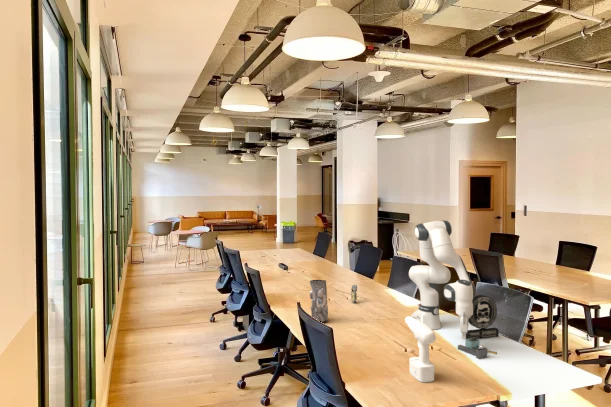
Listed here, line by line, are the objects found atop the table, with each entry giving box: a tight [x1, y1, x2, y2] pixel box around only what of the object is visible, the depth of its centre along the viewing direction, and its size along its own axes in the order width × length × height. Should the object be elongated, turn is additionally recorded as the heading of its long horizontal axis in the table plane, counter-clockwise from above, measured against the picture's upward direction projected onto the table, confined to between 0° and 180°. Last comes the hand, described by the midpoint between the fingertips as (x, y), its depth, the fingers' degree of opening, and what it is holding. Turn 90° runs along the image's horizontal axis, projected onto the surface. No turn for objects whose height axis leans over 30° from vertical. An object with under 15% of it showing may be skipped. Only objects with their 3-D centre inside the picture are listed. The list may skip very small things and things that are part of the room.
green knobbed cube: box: [465, 338, 480, 349], centre depth 248 cm, size 5×5×5 cm
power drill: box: [404, 316, 437, 383], centre depth 212 cm, size 8×24×25 cm, turn 13°
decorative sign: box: [465, 294, 500, 340], centre depth 265 cm, size 22×3×25 cm, turn 105°
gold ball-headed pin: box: [487, 349, 498, 355], centre depth 240 cm, size 7×2×1 cm, turn 54°
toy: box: [335, 284, 366, 303], centre depth 353 cm, size 10×26×15 cm, turn 105°
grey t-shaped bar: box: [457, 344, 488, 360], centre depth 239 cm, size 16×6×6 cm, turn 29°
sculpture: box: [309, 279, 329, 323], centre depth 301 cm, size 12×12×28 cm
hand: (464, 335), depth 245 cm, fingers open, 8 cm apart
